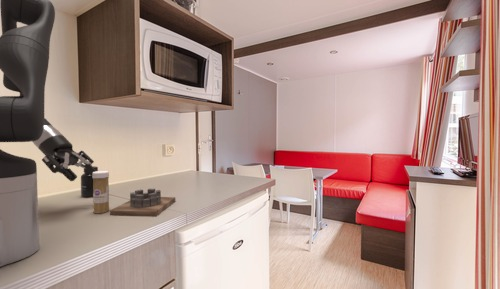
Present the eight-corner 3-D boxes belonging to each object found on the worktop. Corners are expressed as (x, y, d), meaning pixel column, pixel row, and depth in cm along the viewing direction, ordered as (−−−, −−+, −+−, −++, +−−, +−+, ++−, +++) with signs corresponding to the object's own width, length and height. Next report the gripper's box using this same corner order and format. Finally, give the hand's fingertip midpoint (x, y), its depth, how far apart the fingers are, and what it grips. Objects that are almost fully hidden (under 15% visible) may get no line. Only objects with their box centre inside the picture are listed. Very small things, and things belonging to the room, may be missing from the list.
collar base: (155, 216, 70) (155, 199, 69) (109, 215, 70) (109, 198, 70) (175, 201, 86) (175, 187, 85) (137, 200, 86) (137, 186, 86)
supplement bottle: (77, 198, 88) (76, 168, 88) (85, 193, 95) (84, 166, 94) (97, 197, 90) (96, 168, 90) (103, 192, 97) (103, 165, 96)
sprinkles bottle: (91, 214, 71) (89, 172, 70) (96, 209, 75) (95, 170, 74) (107, 213, 72) (106, 172, 71) (111, 208, 76) (110, 170, 76)
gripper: (37, 134, 66) (74, 172, 66) (76, 134, 80) (107, 165, 80) (20, 151, 66) (58, 189, 66) (63, 148, 81) (94, 180, 81)
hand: (85, 176), depth 73 cm, fingers open, 8 cm apart
